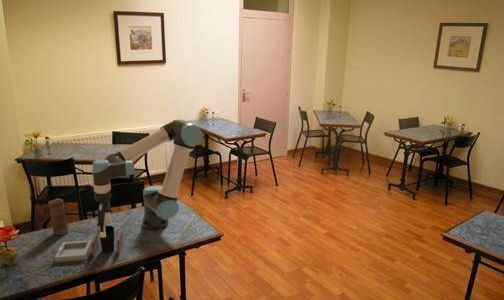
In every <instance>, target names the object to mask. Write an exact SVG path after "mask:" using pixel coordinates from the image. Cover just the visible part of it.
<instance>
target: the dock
mask: <svg viewBox="0 0 504 300" xmlns="http://www.w3.org/2000/svg"><path fill="white" fill-rule="evenodd" d="M91 242H92V240H77V241H63V242H62V243H61V245H60V247H59V249H58V250H57V252H56V254H55V256H54V263H55V264H57V263H68V262H69V263H70V262H71V263H72V262H81V261H82V262H83V261H87V259H88V256H89V254H90V252H91V251H92V245H91Z"/></svg>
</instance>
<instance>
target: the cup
mask: <svg viewBox="0 0 504 300" xmlns="http://www.w3.org/2000/svg"><path fill="white" fill-rule="evenodd" d="M105 231H106V237H101V238H100V234H99V229H97V232H98V238H99V243H100V246H101V251H102V253H104V254H110V253H112V252H114V250H115V227H114V226H113V225H105Z"/></svg>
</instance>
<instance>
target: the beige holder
mask: <svg viewBox="0 0 504 300" xmlns="http://www.w3.org/2000/svg"><path fill="white" fill-rule="evenodd" d="M116 238H117V239H116V245H117V246H116V248H117V255H121V253H122V249H123V246H124V241H123V231H122V230H119V232H118V236H117V237H116ZM91 245H92V247H91V251H92V253H91V254H92V257H96V255H97V252H98V249H99V247H100V240H99V233H98V231H97V232H95V233H94V235H93V237H92V242H91Z"/></svg>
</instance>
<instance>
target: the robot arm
mask: <svg viewBox="0 0 504 300" xmlns="http://www.w3.org/2000/svg"><path fill="white" fill-rule="evenodd" d="M201 140H202V131H201V129H200V127H198V125H196V124H194V123H193V122H189V121H186V120H184V119H176V120H173V121H170V122H169V123H166V124H164V125H162V126H160V127H159V130H157V131H155V132H153V133H151V134H148V136H146V137H143V138H142V139H140V140H138V141H136V142H134V143H132V144H130V145H129V146H127V147H124V148H123V149H121V150H119V151H117V152H114V153H108V154H106V155H105V156H104V159H95V160H94V161H92V164H91V167H92V168H91V169H92V170H91V171H92V180H93V181H92V182H93V184H92V187H93V191H94V193H93V194H94V195H93V197H94V200H95V201H97V202H98V204H97V223H96V226H97V227H98V230H99V233H98V235H99V234H100V237H99V239H100V238H101V237H106V231H105V226H108V225H111V224H112V221H111V220H112V219H111V212H112V211H113V210H112V209H111V204H110V200H111V198H112V192H111V189H112V187H111V179H115V178H116V179H117V178H122V177H128V176H132V175H134V173H135V170H136V169H135V165H134V164H135V163H134V162H133V161H134V160H136V159H137V158H140V157H141V156H143V155H145V154H146V153H149V152H150V151H152V150H154V149H155V148H157V147H160V146H161V145H163V144H165V143H170V142H172V141H173V142H172V144H173V146H174V148H173V150H172V155H171V157H170V161H169V164H168V168H167V170H166V174H165V177H164V180H163V182H162V183H163V184H162V185H151V186H147V187H145V188H144V189H143V193H142V195H143V208H144V214H143V217H142V219H141V226H142V228H144V229H146V230H150V231H151V230H152V231H153V230H154V231H155V230H156V231H157V230H161V229H164V228H165V227H167V226H168V225H169V220H170V219H172V218H174V217H175V216H176V215H177V214H178V211H179V209H180V208H179V203H178V199H179V195H178V190H179V188H180V184H181V181H182V178H183V174H184V171H185V168H186V166H187V162H188V159H189V155H190V153H191V152H192V151H194V149H195V147H196V146H197V145H198V144H199V143H200V142H201Z"/></svg>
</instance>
